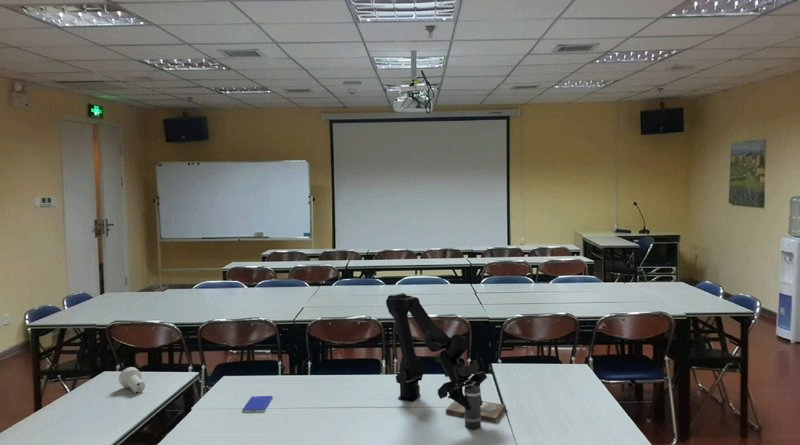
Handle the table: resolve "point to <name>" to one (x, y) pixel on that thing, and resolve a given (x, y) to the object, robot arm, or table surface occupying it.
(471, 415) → the dark grey cylinder
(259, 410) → the blue book
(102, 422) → the table surface
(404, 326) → the robot arm
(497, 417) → the mount board
